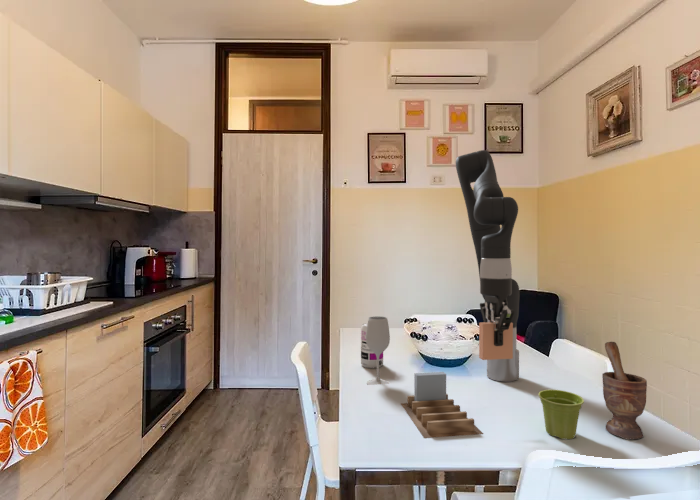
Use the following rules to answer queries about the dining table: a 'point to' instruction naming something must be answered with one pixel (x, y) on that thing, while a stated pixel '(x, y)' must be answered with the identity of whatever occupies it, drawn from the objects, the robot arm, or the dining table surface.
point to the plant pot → (561, 412)
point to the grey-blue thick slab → (429, 386)
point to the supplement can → (368, 352)
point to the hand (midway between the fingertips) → (496, 344)
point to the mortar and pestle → (623, 397)
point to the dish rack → (439, 418)
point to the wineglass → (377, 341)
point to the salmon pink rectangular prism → (487, 342)
